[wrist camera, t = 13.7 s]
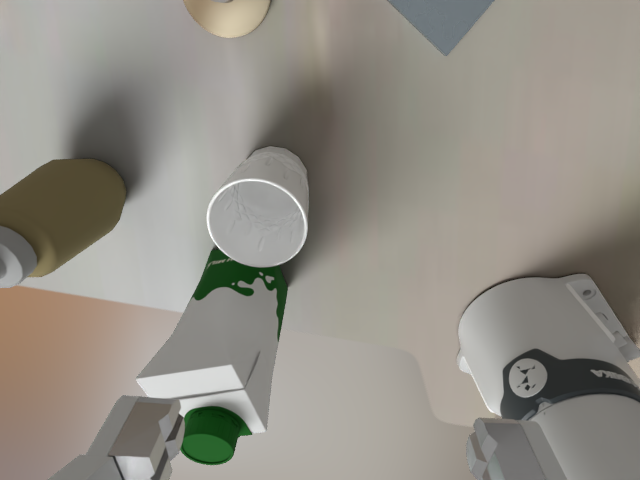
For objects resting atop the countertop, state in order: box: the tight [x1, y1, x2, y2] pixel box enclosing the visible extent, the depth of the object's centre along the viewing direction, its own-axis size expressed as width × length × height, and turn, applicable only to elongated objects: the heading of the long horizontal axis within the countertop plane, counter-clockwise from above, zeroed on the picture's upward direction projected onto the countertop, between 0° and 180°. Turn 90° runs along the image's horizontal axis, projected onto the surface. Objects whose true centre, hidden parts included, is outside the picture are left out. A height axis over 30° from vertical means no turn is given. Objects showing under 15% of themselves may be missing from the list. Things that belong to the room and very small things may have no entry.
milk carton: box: [136, 249, 288, 465], centre depth 35 cm, size 9×9×20 cm
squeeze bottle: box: [0, 159, 126, 288], centre depth 31 cm, size 8×8×18 cm
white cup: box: [207, 146, 309, 267], centre depth 34 cm, size 8×8×10 cm
